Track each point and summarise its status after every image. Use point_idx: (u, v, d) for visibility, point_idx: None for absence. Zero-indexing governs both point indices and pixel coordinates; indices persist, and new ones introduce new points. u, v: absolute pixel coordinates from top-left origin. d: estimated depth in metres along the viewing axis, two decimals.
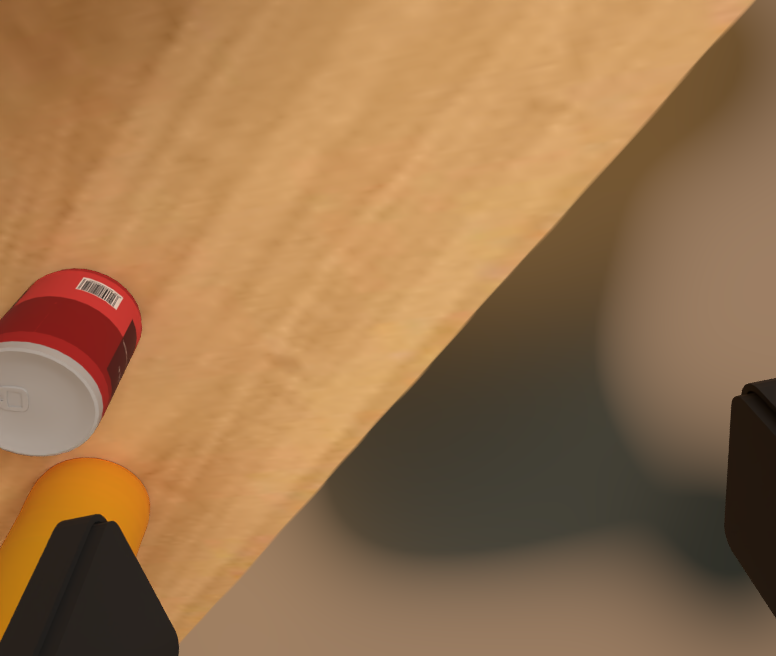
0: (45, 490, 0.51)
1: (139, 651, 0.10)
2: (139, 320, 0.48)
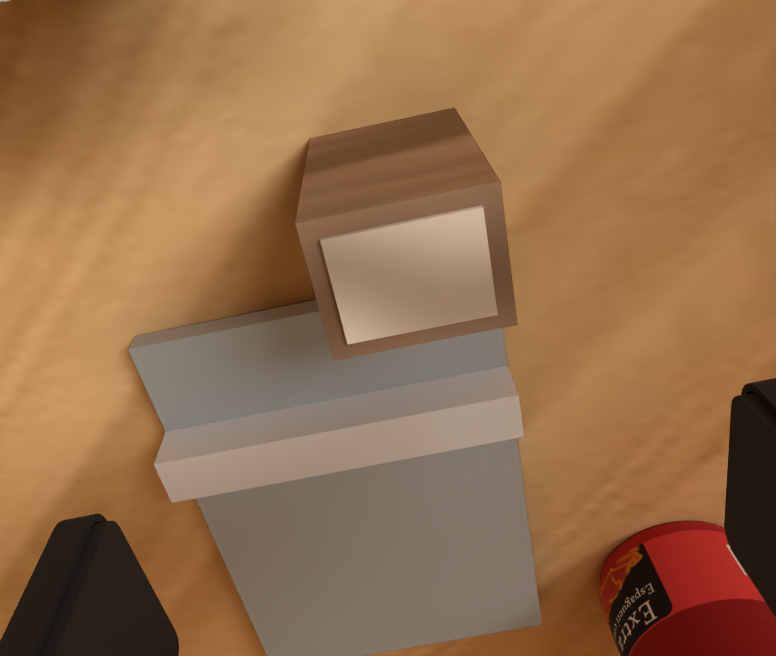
0: None
1: (139, 651, 0.10)
2: None
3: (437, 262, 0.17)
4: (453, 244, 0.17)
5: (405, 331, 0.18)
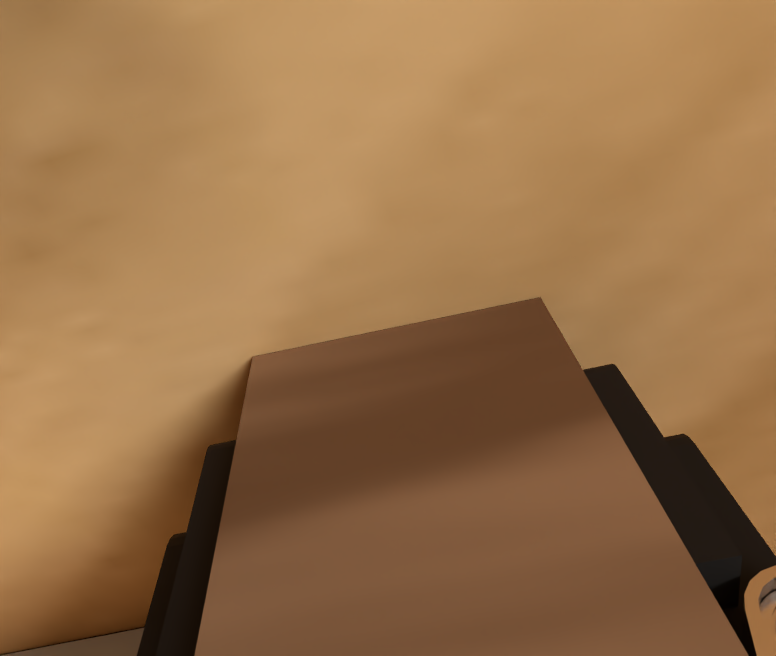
0: None
1: None
2: None
3: None
4: None
5: None
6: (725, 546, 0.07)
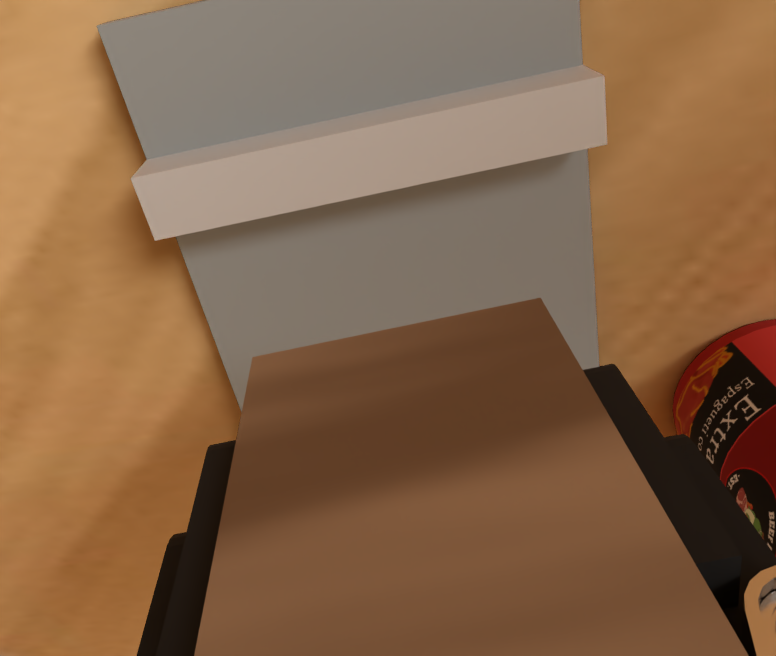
0: None
1: None
2: None
3: None
4: None
5: None
6: (726, 545, 0.07)
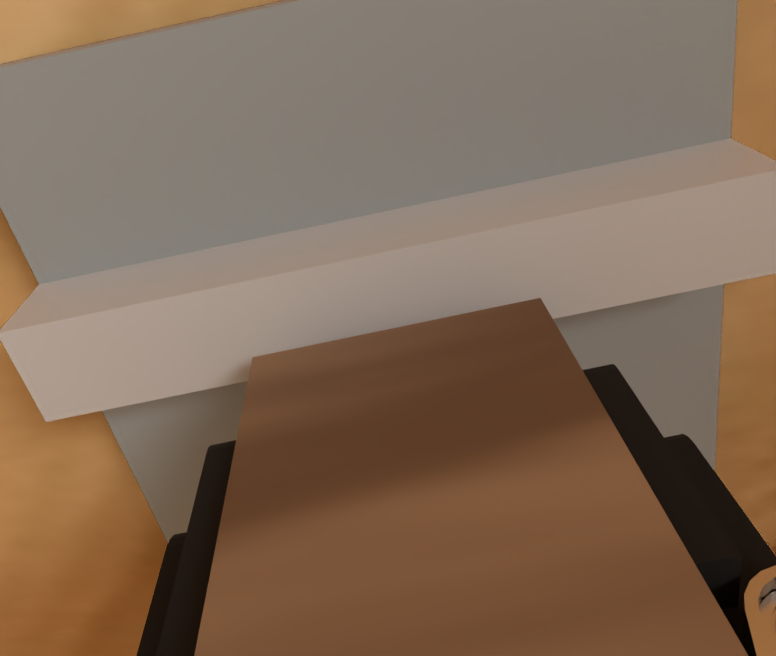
0: None
1: None
2: None
3: None
4: None
5: None
6: (726, 545, 0.07)
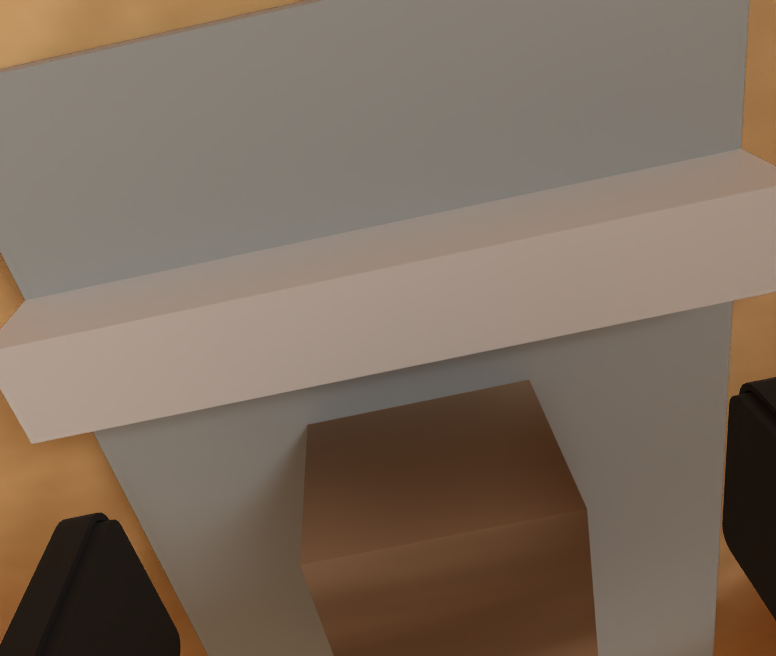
0: None
1: (141, 650, 0.10)
2: None
3: None
4: None
5: None
6: None
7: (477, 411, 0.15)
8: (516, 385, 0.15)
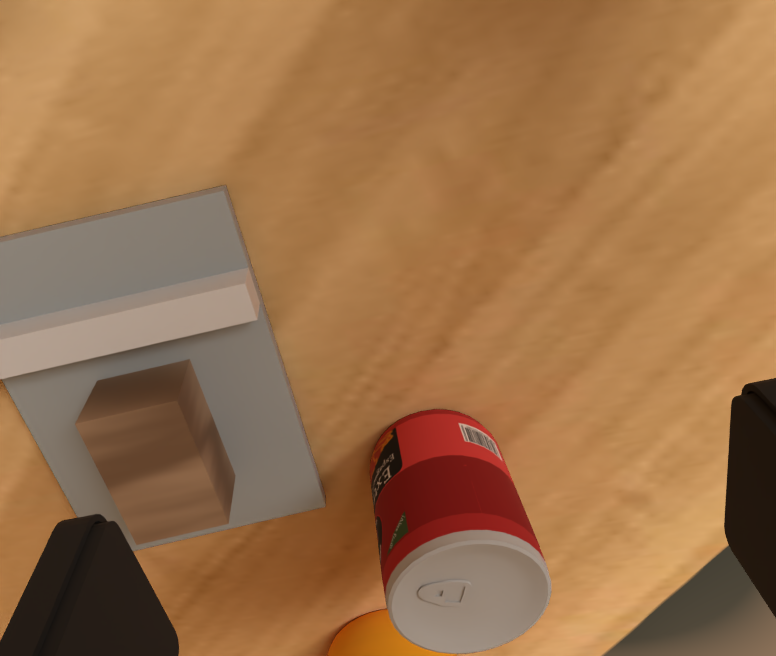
0: None
1: (139, 651, 0.10)
2: None
3: None
4: None
5: None
6: None
7: (163, 371, 0.36)
8: (183, 361, 0.37)
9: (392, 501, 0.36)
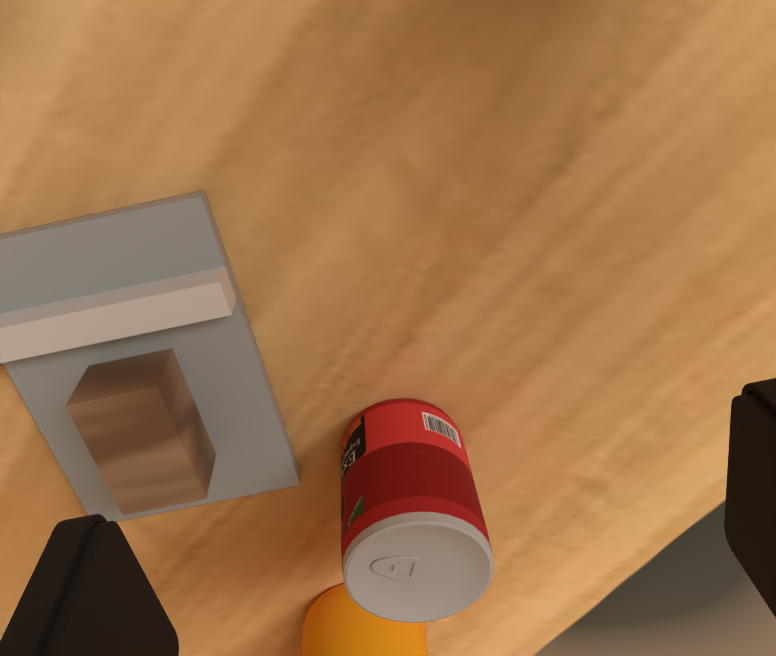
0: (340, 624, 0.48)
1: (139, 651, 0.10)
2: None
3: None
4: None
5: None
6: None
7: (147, 359, 0.39)
8: (166, 350, 0.40)
9: (354, 483, 0.39)
